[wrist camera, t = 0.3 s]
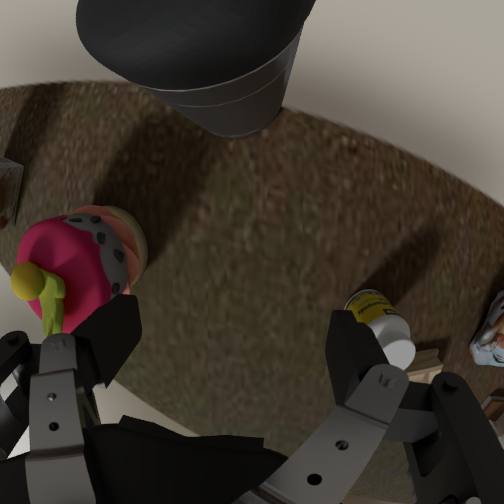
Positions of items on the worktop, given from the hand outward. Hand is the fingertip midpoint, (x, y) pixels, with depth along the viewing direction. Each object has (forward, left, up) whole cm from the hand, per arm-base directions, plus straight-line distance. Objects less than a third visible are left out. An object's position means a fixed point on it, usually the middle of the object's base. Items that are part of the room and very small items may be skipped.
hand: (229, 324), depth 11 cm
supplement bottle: (+9, +13, -18) cm, 24 cm away
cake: (+1, -16, -18) cm, 24 cm away
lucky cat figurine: (+14, +36, -18) cm, 43 cm away
